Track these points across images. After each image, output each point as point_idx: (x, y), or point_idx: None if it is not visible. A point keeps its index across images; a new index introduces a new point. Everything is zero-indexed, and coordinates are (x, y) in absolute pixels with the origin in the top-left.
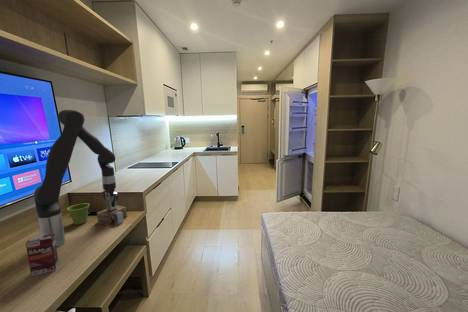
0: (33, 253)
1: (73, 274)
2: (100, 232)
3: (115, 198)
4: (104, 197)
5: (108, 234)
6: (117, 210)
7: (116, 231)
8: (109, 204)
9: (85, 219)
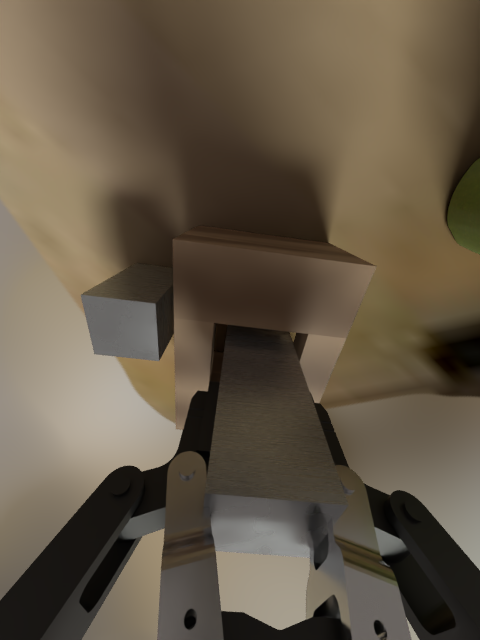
0: None
1: None
2: (132, 76)
3: (44, 572)
4: (441, 559)
5: (16, 67)
6: (183, 368)
7: (19, 154)
8: (239, 403)
9: (471, 206)
